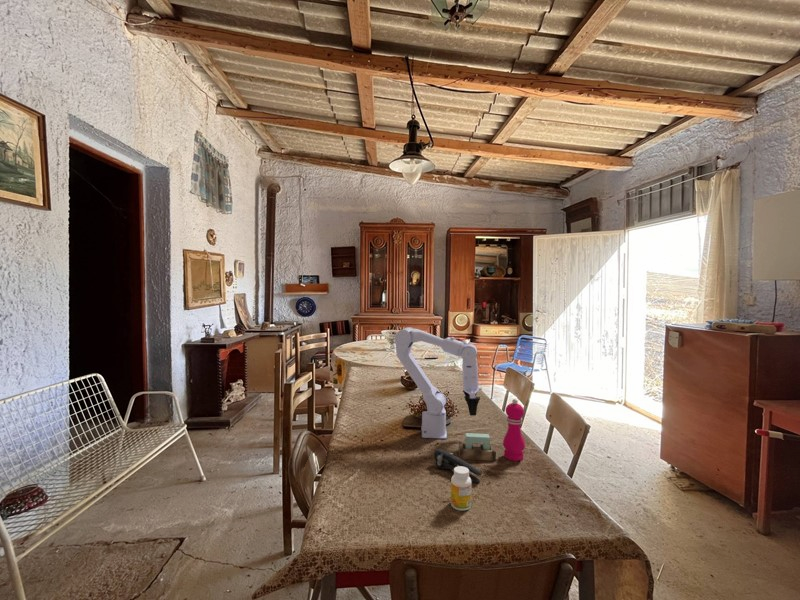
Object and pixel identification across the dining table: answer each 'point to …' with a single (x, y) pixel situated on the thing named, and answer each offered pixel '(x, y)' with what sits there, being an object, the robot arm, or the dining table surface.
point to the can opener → (454, 463)
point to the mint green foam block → (477, 440)
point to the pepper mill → (514, 432)
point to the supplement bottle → (461, 489)
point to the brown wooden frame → (477, 452)
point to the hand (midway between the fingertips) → (472, 411)
